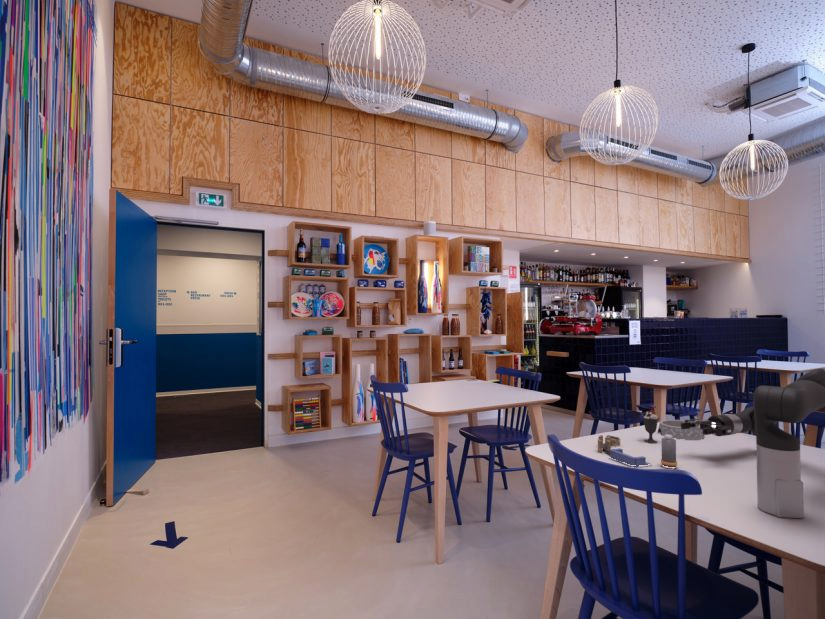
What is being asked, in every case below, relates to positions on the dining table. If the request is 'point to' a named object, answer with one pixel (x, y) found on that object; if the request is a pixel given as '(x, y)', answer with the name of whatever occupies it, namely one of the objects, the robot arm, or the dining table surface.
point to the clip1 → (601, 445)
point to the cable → (606, 449)
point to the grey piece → (668, 451)
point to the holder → (627, 458)
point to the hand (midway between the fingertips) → (692, 428)
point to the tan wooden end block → (614, 440)
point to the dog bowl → (680, 430)
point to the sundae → (650, 424)
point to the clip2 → (606, 439)
